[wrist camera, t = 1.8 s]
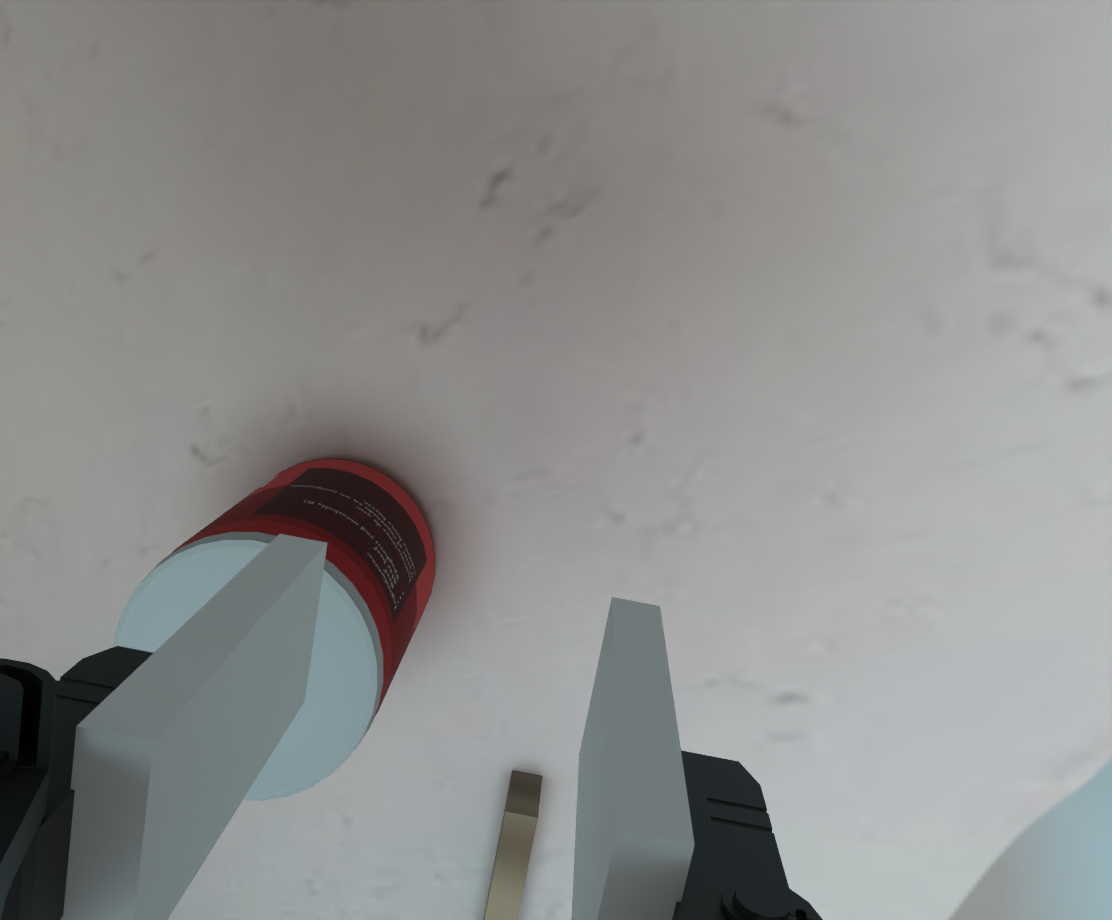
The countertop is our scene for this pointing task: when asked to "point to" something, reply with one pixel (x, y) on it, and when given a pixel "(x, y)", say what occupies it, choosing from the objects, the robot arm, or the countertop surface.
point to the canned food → (344, 605)
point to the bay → (514, 847)
